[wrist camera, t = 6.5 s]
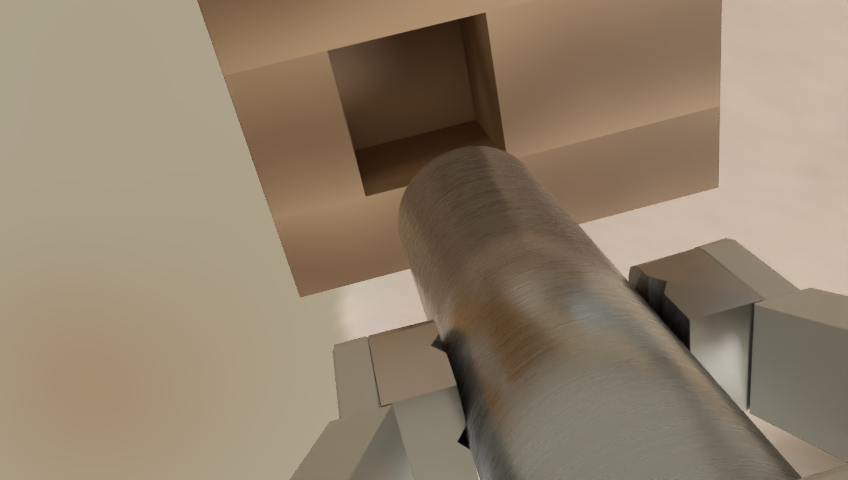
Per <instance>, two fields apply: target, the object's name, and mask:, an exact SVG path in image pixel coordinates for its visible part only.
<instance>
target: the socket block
mask: <svg viewBox="0 0 848 480" xmlns="http://www.w3.org/2000/svg"><path fill="white" fill-rule="evenodd" d="M198 3H199V6H200V9H201V12H202V15H203V18H204V21H205V23H206V27H207V29H208V32H209V35H210V38H211V41H212V44H213V47H214V50H215V52H216V55H217V58H218V61H219V64H220V67H221V70H222V73H223V75H224V79H225V81H226V84H227V87H228V90H229V93H230V96H231V99H232V102H233V105H234V107H235V110H236V113H237V116H238V119H239V122H240V125H241V128H242V131H243V134H244V136H245V139H246V142H247V145H248V148H249V151H250V154H251V157H252V160H253V162H254V165H255V168H256V171H257V174H258V177H259V180H260V183H261V186H262V188H263V191H264V194H265V197H266V200H267V203H268V206H269V209H270V211H271V214H272V217H273V220H274V223H275V226H276V229H277V232H278V235H279V238H280V240H281V243H282V246H283V249H284V252H285V255H286V258H287V261H288V264H289V266H290V269H291V272H292V275H293V278H294V281H295V284H296V287H297V290H298V292H299V295H300V297H304V296H307V295H311V294H315V293H319V292H323V291H326V290H330V289H334V288H338V287H342V286H345V285H349V284H353V283H357V282H361V281H364V280H368V279H372V278H376V277H380V276H383V275H387V274H391V273H395V272H398V271H402V270H406V269H410V266H409V263H408V260H407V257H406V254H405V251H404V248H403V245H402V242H401V239H400V236H399V230H398V211H399V206H400V202H401V199H402V197H403V194H404V192H405V190H406V188H407V186H408V185H409V183H410V182H411V180H412V179H413V178H414V176H415V175H416V174H417V173H418V172H419V171H420V170H421V169H422V168H423V167H424V166H425V165H426V164H428V163H429V162H430V161H432V160H433V159H435V158H437V157H438V156H440V155H442V154H444V153H446V152H449V151H452V150H455V149H458V148H463V147H469V146H486V147H492V148H497V149H500V150H503V151H506V152H508V153H510V154H511V155H513V156H515V157H516V158H518V159H519V160H520V161H522V162H523V163H524V164H525V165H526V166H527V167H528V168H529V170H530V171H531V172H532V173H533V174H534V175H535V176H536V177H537V179H538V180H539V181H540V182H541V183H542V184H543V185H544V187H545V188H546V189H547V190H548V191H549V192H550V193H551V194H552V196H553V197H554V198H555V199H556V200H557V201H558V202H559V203H560V205H561V206H562V207H563V208H564V209H565V210H566V211H567V213H568V214H569V215H570V216H571V217H572V218H573V219H574V220H575V222H576V223H577V224H581V223H585V222H588V221H592V220H596V219H600V218H604V217H607V216H611V215H615V214H619V213H623V212H626V211H630V210H634V209H638V208H641V207H645V206H649V205H653V204H657V203H660V202H664V201H668V200H672V199H676V198H679V197H683V196H687V195H691V194H695V193H698V192H702V191H706V190H710V189H714V188H717V187H718V183H719V126H720V69H721V12H722V0H198Z"/></svg>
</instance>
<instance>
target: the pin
mask: <svg viewBox="0 0 848 480" xmlns="http://www.w3.org/2000/svg"><path fill="white" fill-rule="evenodd" d="M398 230H399V236H400V239H401V242H402V245H403V248H404V251H405V254H406V257H407V260H408V263H409V266H410V269H411V272H412V275H413V278H414V281H415V284H416V287H417V290H418V293H419V296H420V299H421V302H422V305H423V308H424V311H425V314H426V317H427V320H428V321H430V320H434V321H435V323H436V325H437V328H438V331H439V334H440V338H441V342H442V347H443V351H444V352H445V353H446V354H447V357H448V360H449V363H450V366H451V369H452V372H453V375H454V378H455V381H456V384H457V387H458V392H459V396H460V400H461V404H462V408H463V413H464V417H465V421H466V427H465V428H464V432H465V435H466V438H467V441H468V444H469V447H470V450H471V453H472V456H473V459H474V462H475V465H476V468H477V471H478V474H479V477H480V480H798V479H801V477H800V475H799V474H798V473H797V472H796V471H795V470H794V469H793V467H792V466H791V465H790V464H789V463H788V462H787V461H786V460H785V458H784V457H783V456H782V455H781V454H780V453H779V452H778V450H777V449H776V448H775V447H774V446H773V445H772V444H771V443H770V441H769V440H768V439H767V438H766V437H765V436H764V435H763V433H762V432H761V431H760V430H759V429H758V428H757V427H756V426H755V424H754V423H753V422H752V421H751V420H750V419H749V418H748V416H747V415H746V414H745V413H744V412H743V411H742V410H741V409H740V407H739V406H738V405H737V404H736V403H735V402H734V401H733V399H732V398H731V397H730V396H729V395H728V394H727V393H726V392H725V390H724V389H723V388H722V387H721V386H720V385H719V384H718V382H717V381H716V380H715V379H714V378H713V377H712V376H711V375H710V373H709V372H708V371H707V370H706V369H705V368H704V367H703V365H702V364H701V363H700V362H699V361H698V360H697V359H696V358H695V356H694V355H693V354H692V353H691V352H690V351H689V350H688V349H687V347H686V346H685V345H684V344H683V343H682V342H681V341H680V339H679V338H678V337H677V336H676V335H675V334H674V333H673V332H672V330H671V329H670V328H669V327H668V326H667V325H666V324H665V322H664V321H663V320H662V319H661V318H660V317H659V316H658V315H657V313H656V312H655V311H654V310H653V309H652V308H651V307H650V305H649V304H648V303H647V302H646V301H645V300H644V299H643V298H642V296H641V295H640V294H639V293H638V292H637V291H636V290H635V288H634V287H633V286H632V285H631V284H630V283H629V282H628V281H627V279H626V278H625V277H624V276H623V275H622V274H621V273H620V271H619V270H618V269H617V268H616V267H615V266H614V265H613V264H612V262H611V261H610V260H609V259H608V258H607V257H606V256H605V254H604V253H603V252H602V251H601V250H600V249H599V248H598V247H597V245H596V244H595V243H594V242H593V241H592V240H591V239H590V237H589V236H588V235H587V234H586V233H585V232H584V231H583V230H582V228H581V227H580V226H579V225H578V224H577V223H576V222H575V220H574V219H573V218H572V217H571V216H570V215H569V214H568V213H567V211H566V210H565V209H564V208H563V207H562V206H561V205H560V203H559V202H558V201H557V200H556V199H555V198H554V197H553V196H552V194H551V193H550V192H549V191H548V190H547V189H546V188H545V187H544V185H543V184H542V183H541V182H540V181H539V180H538V179H537V177H536V176H535V175H534V174H533V173H532V172H531V171H530V170H529V168H528V167H527V166H526V165H525V164H524V163H523V162H522V161H520V160H519V159H518V158H516V157H515V156H513V155H511V154H510V153H508V152H506V151H503V150H500V149H497V148H492V147H486V146H469V147H463V148H458V149H455V150H452V151H449V152H446V153H444V154H442V155H440V156H438V157H437V158H435V159H433V160H432V161H430V162H429V163H428V164H426V165H425V166H424V167H423V168H422V169H421V170H420V171H419V172H418V173H417V174H416V175H415V176H414V178H413V179H412V180H411V182H410V183H409V185H408V186H407V188H406V190H405V192H404V194H403V197H402V199H401V202H400V206H399V211H398Z"/></svg>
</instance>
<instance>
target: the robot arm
mask: <svg viewBox="0 0 848 480" xmlns="http://www.w3.org/2000/svg"><path fill="white" fill-rule="evenodd" d="M629 283H630V284H631V285H632V286H633V287H634V288H635V290H636V291H637V292H638V293H639V294H640V295H641V296H642V298H643V299H644V300H645V301H646V302H647V303H648V304H649V305H650V307H651V308H652V309H653V310H654V311H655V312H656V313H657V315H658V316H659V317H660V318H661V319H662V320H663V321H664V322H665V324H666V325H667V326H668V327H669V328H670V329H671V330H672V332H673V333H674V334H675V335H676V336H677V337H678V338H679V339H680V341H681V342H682V343H683V344H684V345H685V346H686V347H687V349H688V350H689V351H690V352H691V353H692V354H693V355H694V356H695V358H696V359H697V360H698V361H699V362H700V363H701V364H702V365H703V367H704V368H705V369H706V370H707V371H708V372H709V373H710V375H711V376H712V377H713V378H714V379H715V380H716V381H717V382H718V384H719V385H720V386H721V387H722V388H723V389H724V390H725V392H726V393H727V394H728V395H729V396H730V397H731V398H732V399H733V401H734V402H735V403H736V404H737V405H738V406H739V407H740V409H741V410H742V411H743V412H744V411H748V410H750V412H749V413H750V414H752V415H754V416H756V417H758V418H760V419H762V420H764V421H766V422H768V423H770V424H772V425H774V426H776V427H778V428H780V429H782V430H784V431H786V432H788V433H790V434H792V435H794V436H796V437H798V438H800V439H802V440H804V441H806V442H808V443H810V444H812V445H814V446H816V447H818V448H820V449H822V450H824V451H826V452H828V453H830V454H832V455H834V456H836V457H838V458H840V459H842V460H844V461H846V462H848V296H844V295H840V294H835V293H831V292H827V291H823V290H818V289H814V288H808V289H804V290H799V289H798V288H797V287H795V286H794V285H793V284H792V283H790V282H789V281H788V280H786V279H785V278H784V277H782V276H781V275H780V274H778V273H777V272H776V271H774V270H773V269H772V268H771V267H769V266H768V265H767V264H765V263H764V262H763V261H761V260H760V259H759V258H757V257H756V256H755V255H754V254H752V253H751V252H750V251H748V250H747V249H746V248H744V247H743V246H742V245H740V244H739V243H738V242H736V241H735V240H732V239H727V238H725V239H722V240H719V241H715V242H712V243H709V244H706V245H702V246H699V247H696V248H694V249H692V250H688V251H685V252H681V253H678V254H674V255H671V256H667V257H664V258H660V259H657V260H653V261H650V262H646V263H643V264H639V265H636V266H632V267H631V268H630V272H629ZM368 337H369V339H368ZM368 337H366V336H365V337H362V338H358V339H354V340H351V341H347V342H343V343H340V344H336V345H334V348H333V359H334V369H335V379H336V389H337V399H338V409H339V419H338V420H334V421H331V422H329V423H328V425H327V426H326V428H325V429H324V431H323V432H322V434H321V435H320V437H319V438H318V439H317V441H316V442H315V444H314V445H313V447H312V448H311V450H310V451H309V453H308V454H307V456H306V457H305V458H304V460H303V461H302V463H301V464H300V466H299V467H298V469H297V470H296V471H295V473H294V474H293V476H292V477H291V479H290V480H478V475H477V471H476V466H475V462H474V459H473V456H472V453H471V450H470V447H469V444H468V441H467V438H466V435H465V432H464V428H465V427H466V421H465V417H464V413H463V408H462V404H461V400H460V396H459V392H458V387H457V384H456V381H455V378H454V375H453V372H452V369H451V366H450V363H449V360H448V357H447V354H446V353H445V352H444V351H443V347H442V342H441V338H440V334H439V331H438V328H437V325H436V323H435V321H434V320H430V321H426V322H422V323H418V324H414V325H410V326H406V327H402V328H398V329H394V330H390V331H386V332H382V333H378V334H374V335H370V336H368ZM798 480H848V465H845V466H842V467H838V468H835V469H831V470H828V471H825V472H821V473H818V474H814V475H811V476H808V477H804V478H801V479H798Z"/></svg>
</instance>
